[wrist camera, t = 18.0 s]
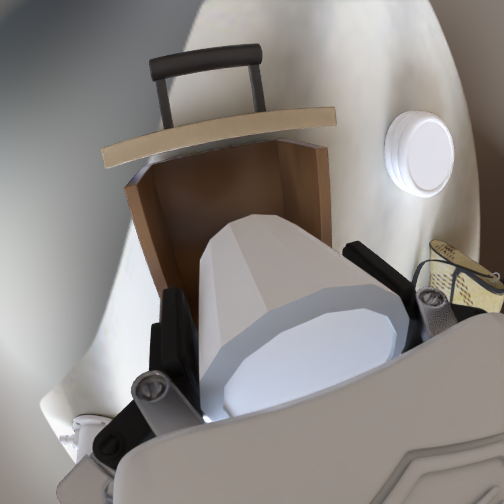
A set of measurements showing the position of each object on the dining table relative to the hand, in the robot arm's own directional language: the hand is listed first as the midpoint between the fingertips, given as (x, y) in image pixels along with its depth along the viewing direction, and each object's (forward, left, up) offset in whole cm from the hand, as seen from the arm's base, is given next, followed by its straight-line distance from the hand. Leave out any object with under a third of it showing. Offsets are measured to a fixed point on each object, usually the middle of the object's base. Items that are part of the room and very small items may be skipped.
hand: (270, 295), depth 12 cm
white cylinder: (0, 0, -2) cm, 2 cm away
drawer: (0, +1, -15) cm, 15 cm away
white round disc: (+23, +2, -16) cm, 28 cm away
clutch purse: (+30, -24, -16) cm, 41 cm away
